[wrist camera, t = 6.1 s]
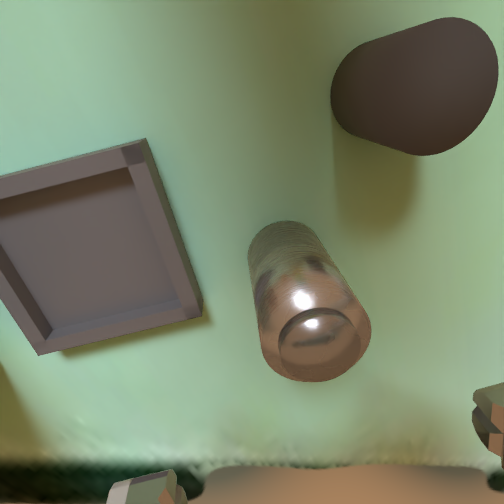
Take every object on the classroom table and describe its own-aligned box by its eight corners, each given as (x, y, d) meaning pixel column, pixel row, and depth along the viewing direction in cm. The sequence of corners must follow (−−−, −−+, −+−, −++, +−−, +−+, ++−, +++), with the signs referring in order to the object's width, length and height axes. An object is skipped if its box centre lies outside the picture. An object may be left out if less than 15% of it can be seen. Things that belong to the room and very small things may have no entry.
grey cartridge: (315, 212, 18) (373, 289, 11) (325, 278, 20) (381, 379, 13) (239, 231, 18) (250, 319, 11) (256, 294, 20) (275, 404, 13)
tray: (145, 138, 16) (138, 142, 14) (203, 300, 19) (202, 316, 18) (-43, 187, 16) (-68, 195, 14) (51, 337, 20) (38, 355, 18)
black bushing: (416, 28, 15) (503, 1, 10) (418, 125, 16) (493, 139, 12) (324, 52, 15) (370, 36, 10) (336, 146, 16) (379, 168, 12)
